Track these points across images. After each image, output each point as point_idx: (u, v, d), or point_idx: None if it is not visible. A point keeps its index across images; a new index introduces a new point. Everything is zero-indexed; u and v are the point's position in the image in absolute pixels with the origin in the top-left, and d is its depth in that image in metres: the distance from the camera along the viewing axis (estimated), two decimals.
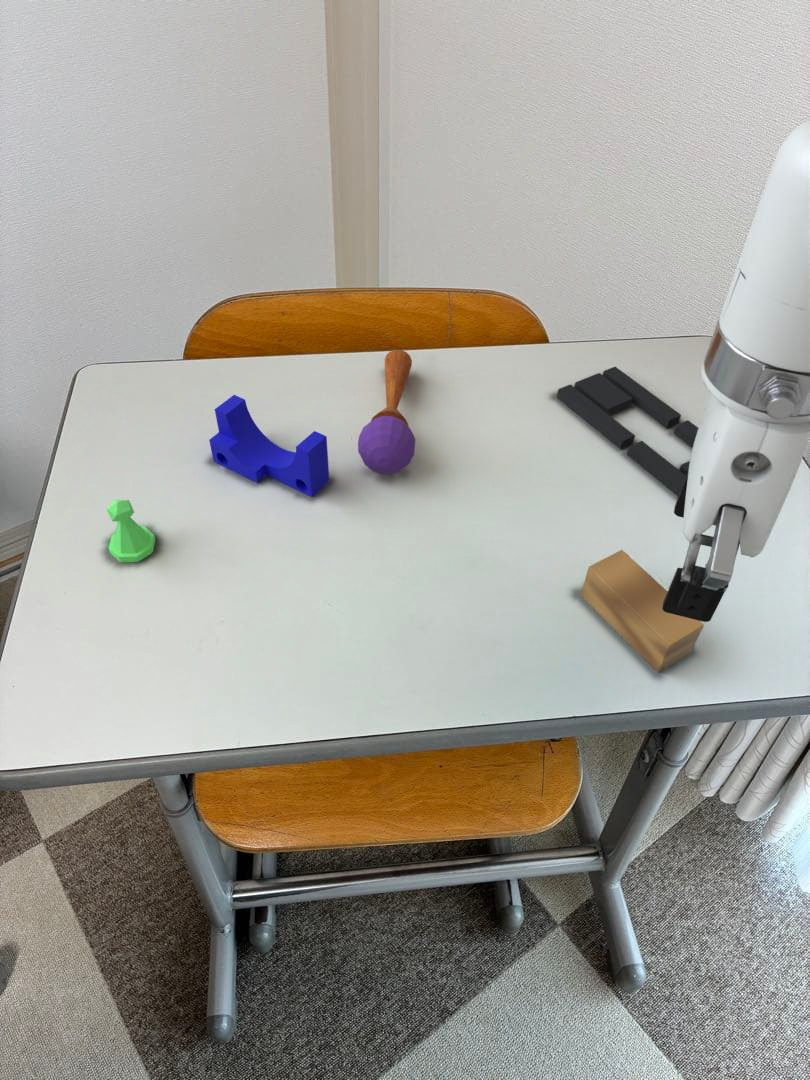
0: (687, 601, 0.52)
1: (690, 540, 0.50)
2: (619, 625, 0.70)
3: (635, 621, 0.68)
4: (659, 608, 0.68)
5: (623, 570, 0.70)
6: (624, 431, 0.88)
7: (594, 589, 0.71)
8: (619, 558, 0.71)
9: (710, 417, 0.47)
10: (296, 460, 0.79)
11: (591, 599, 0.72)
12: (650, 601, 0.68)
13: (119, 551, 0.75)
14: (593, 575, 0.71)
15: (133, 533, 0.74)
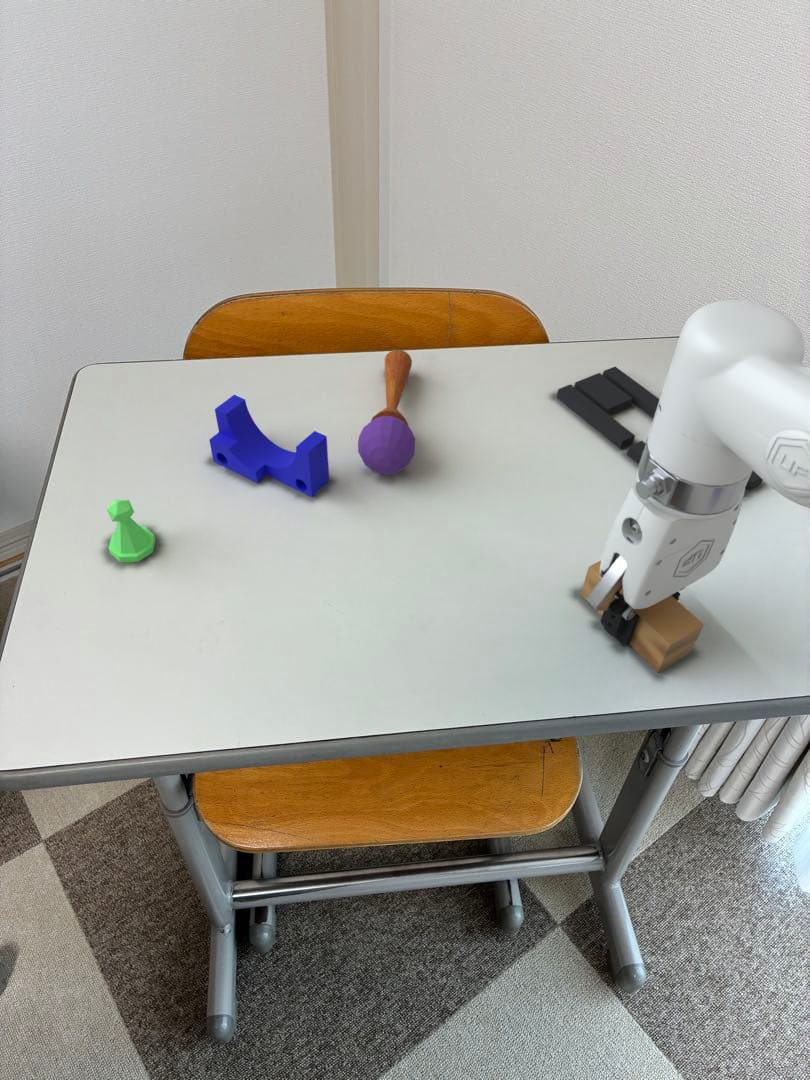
0: (608, 618, 0.69)
1: None
2: None
3: None
4: (659, 608, 0.68)
5: None
6: (624, 431, 0.88)
7: None
8: None
9: None
10: (296, 460, 0.79)
11: None
12: None
13: (119, 551, 0.75)
14: (593, 575, 0.71)
15: (133, 533, 0.74)
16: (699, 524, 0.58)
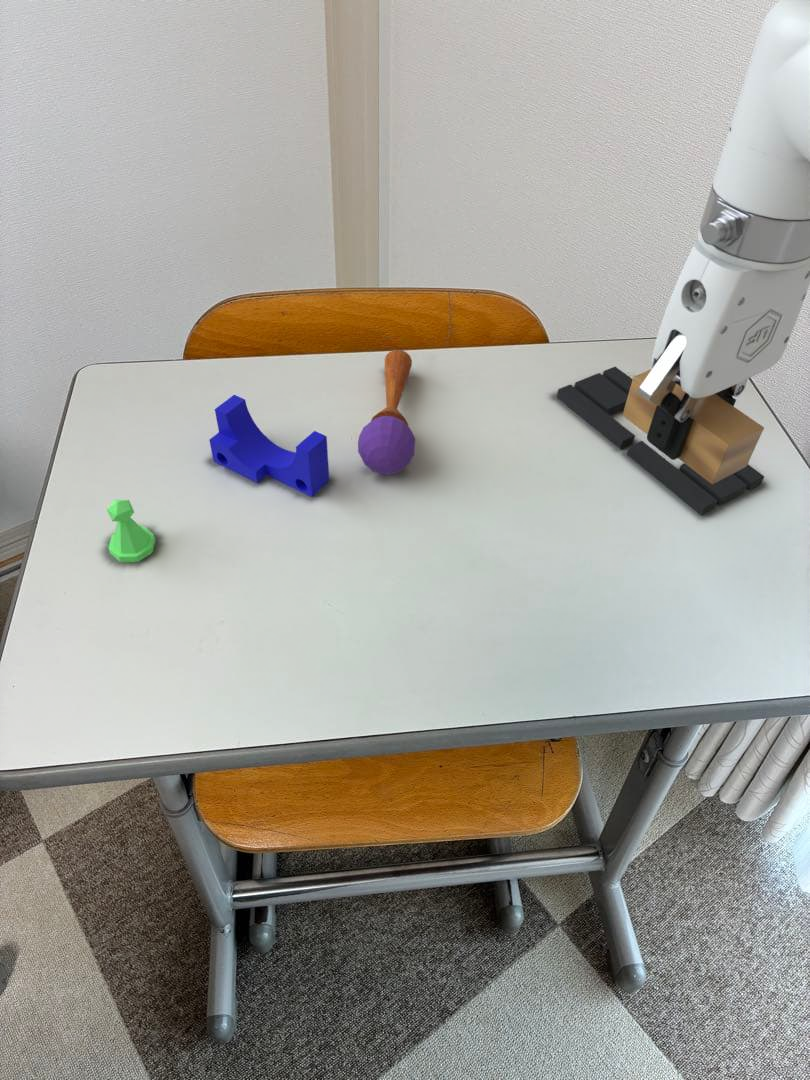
0: (657, 427, 0.62)
1: None
2: None
3: None
4: (714, 412, 0.61)
5: None
6: (624, 431, 0.88)
7: (639, 403, 0.65)
8: None
9: None
10: (296, 460, 0.79)
11: (634, 417, 0.66)
12: (704, 406, 0.62)
13: (119, 551, 0.75)
14: (638, 386, 0.64)
15: (133, 533, 0.74)
16: (770, 284, 0.52)
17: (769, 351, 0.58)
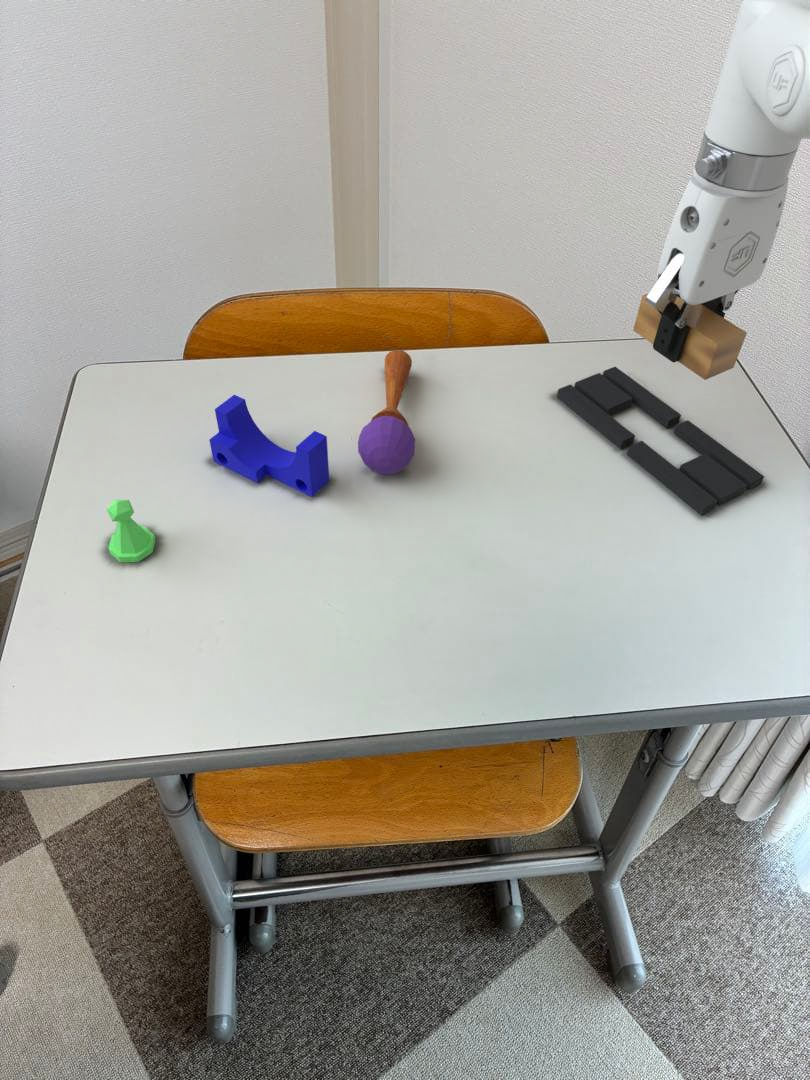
0: (661, 335, 0.77)
1: None
2: None
3: None
4: (707, 321, 0.76)
5: None
6: (624, 431, 0.88)
7: (646, 318, 0.80)
8: None
9: None
10: (296, 460, 0.79)
11: (643, 330, 0.81)
12: (699, 317, 0.77)
13: (119, 551, 0.75)
14: (646, 303, 0.79)
15: (133, 533, 0.74)
16: (749, 209, 0.67)
17: (750, 269, 0.73)
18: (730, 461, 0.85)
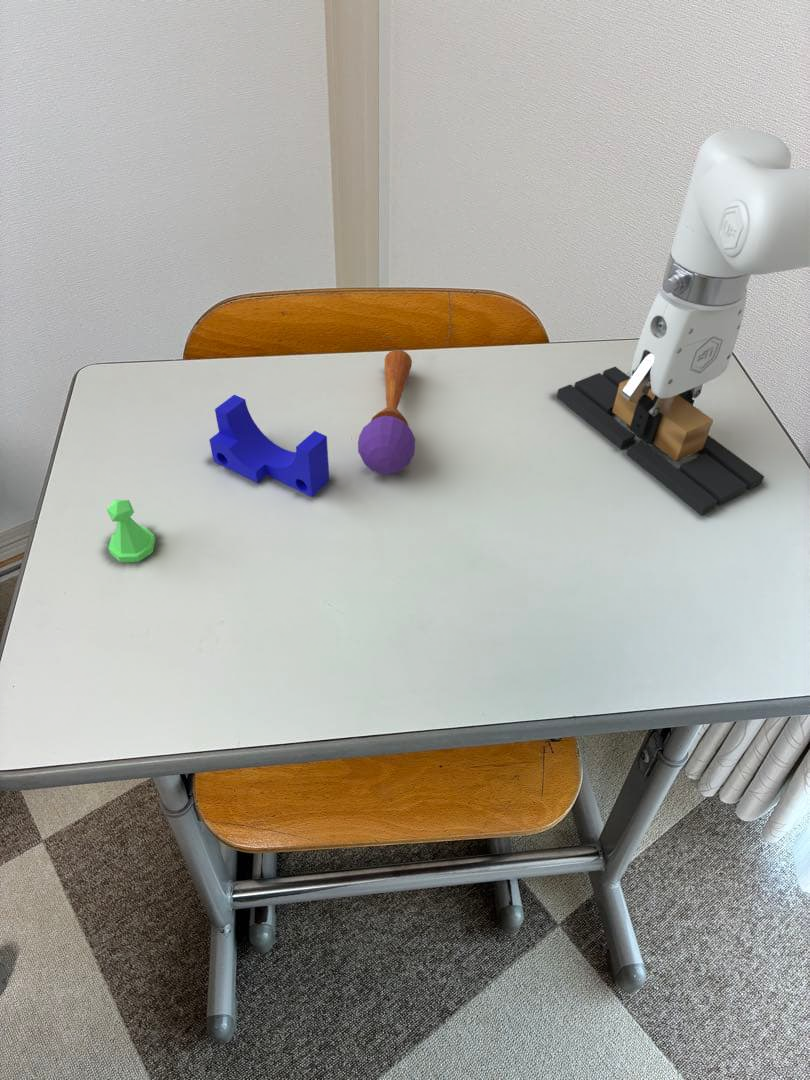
0: (636, 420, 0.85)
1: None
2: None
3: None
4: (677, 409, 0.84)
5: None
6: (624, 431, 0.88)
7: (624, 402, 0.88)
8: None
9: None
10: (296, 460, 0.79)
11: (621, 413, 0.89)
12: (670, 404, 0.85)
13: (119, 551, 0.75)
14: None
15: (133, 533, 0.74)
16: (711, 319, 0.75)
17: (715, 365, 0.81)
18: (730, 461, 0.85)
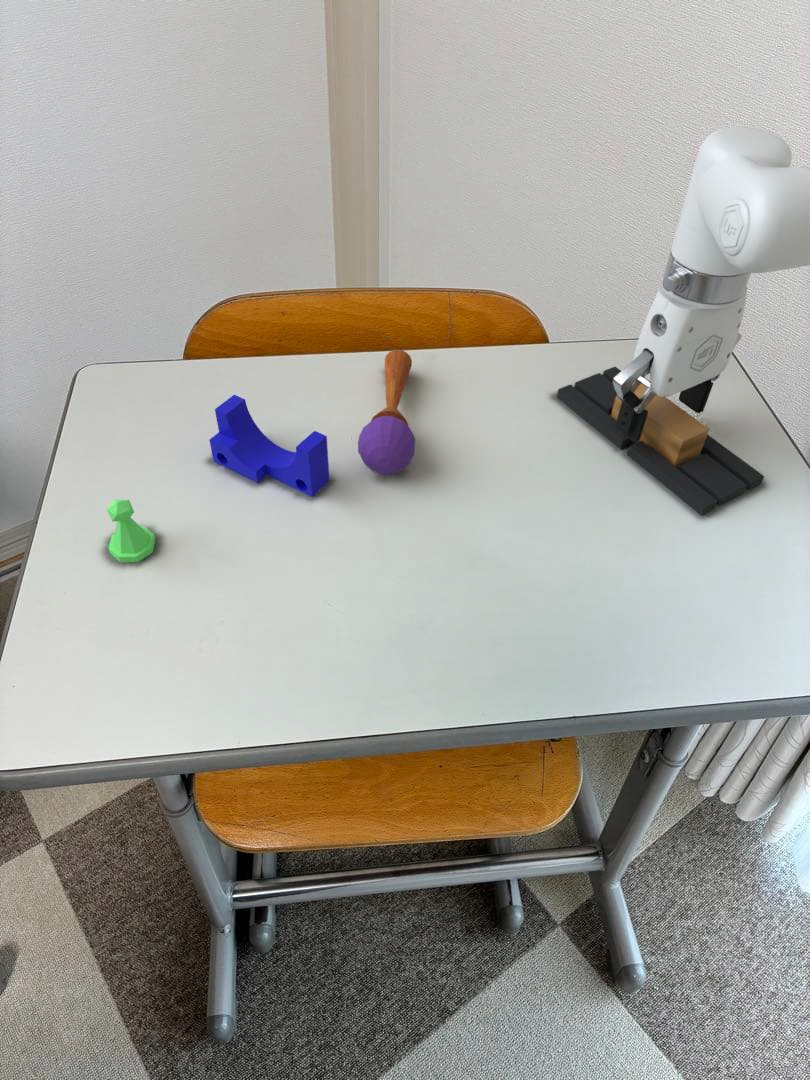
0: (622, 417, 0.84)
1: None
2: (641, 437, 0.88)
3: (655, 429, 0.86)
4: (674, 418, 0.85)
5: None
6: None
7: None
8: (641, 386, 0.89)
9: None
10: (296, 460, 0.79)
11: None
12: (667, 414, 0.86)
13: (119, 551, 0.75)
14: None
15: (133, 533, 0.74)
16: (711, 317, 0.75)
17: (715, 363, 0.81)
18: (730, 461, 0.85)
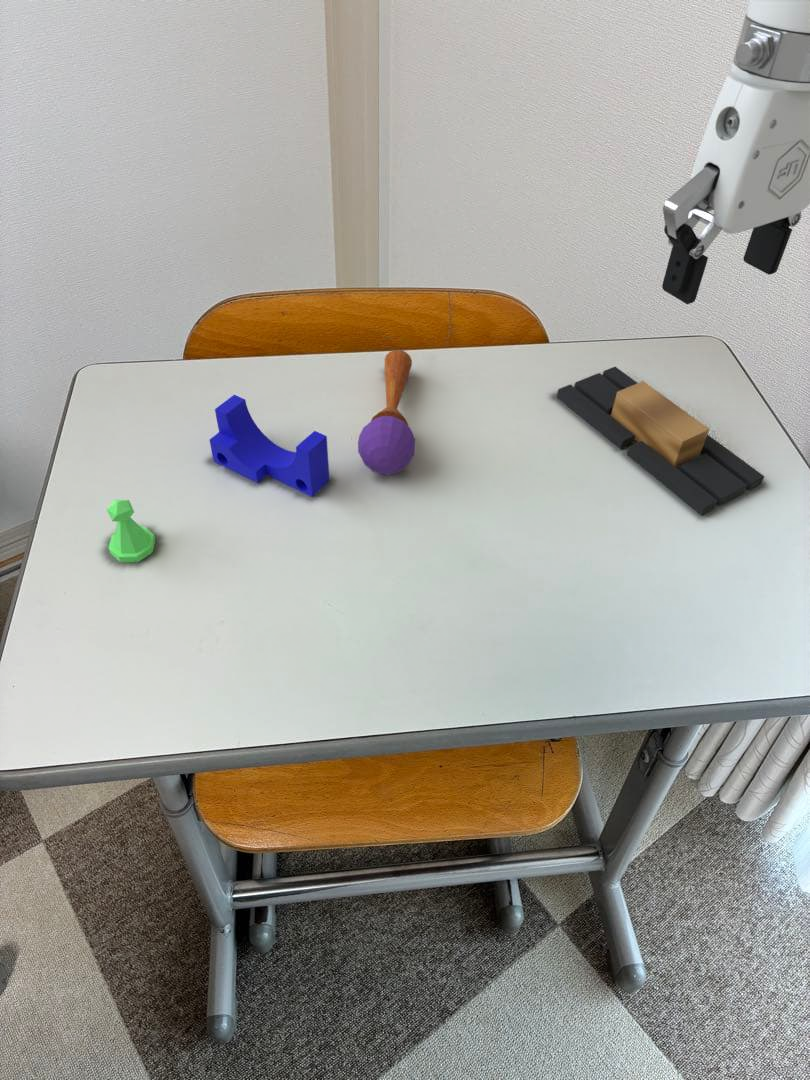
0: (672, 270, 0.64)
1: None
2: (641, 437, 0.88)
3: (655, 429, 0.86)
4: (674, 418, 0.85)
5: (644, 394, 0.88)
6: (624, 431, 0.88)
7: (621, 411, 0.89)
8: (641, 386, 0.89)
9: None
10: (296, 460, 0.79)
11: (618, 421, 0.90)
12: (667, 414, 0.86)
13: (119, 551, 0.75)
14: (621, 398, 0.88)
15: (133, 533, 0.74)
16: (801, 109, 0.55)
17: (799, 191, 0.61)
18: (730, 461, 0.85)
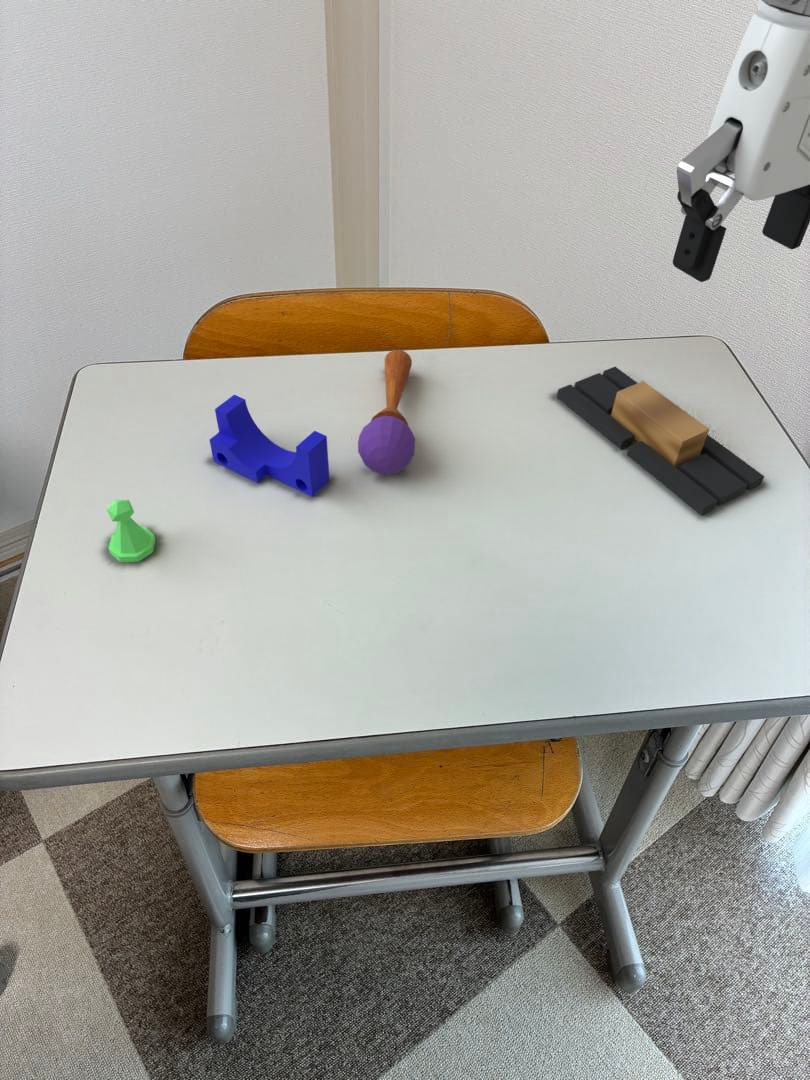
0: (685, 242, 0.56)
1: None
2: (641, 437, 0.88)
3: (655, 429, 0.86)
4: (674, 418, 0.85)
5: (644, 394, 0.88)
6: (624, 431, 0.88)
7: (621, 411, 0.89)
8: (641, 386, 0.89)
9: None
10: (296, 460, 0.79)
11: (618, 421, 0.90)
12: (667, 414, 0.86)
13: (119, 551, 0.75)
14: (621, 398, 0.88)
15: (133, 533, 0.74)
16: None
17: None
18: (730, 461, 0.85)
